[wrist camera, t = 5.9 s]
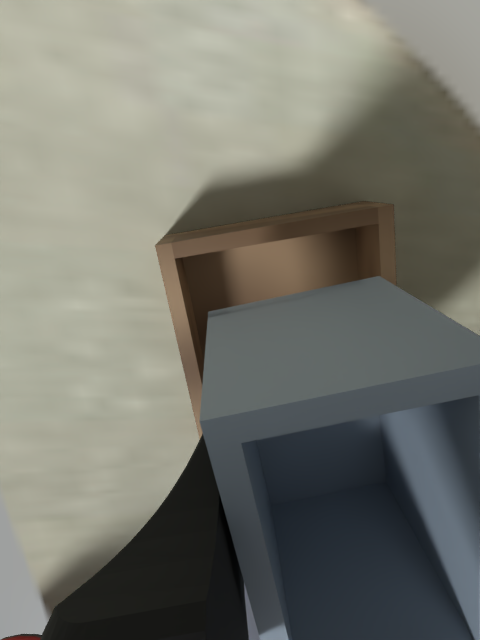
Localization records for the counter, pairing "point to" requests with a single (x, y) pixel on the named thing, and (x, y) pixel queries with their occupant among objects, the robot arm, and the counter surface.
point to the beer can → (24, 637)
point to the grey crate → (348, 462)
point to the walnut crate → (268, 267)
